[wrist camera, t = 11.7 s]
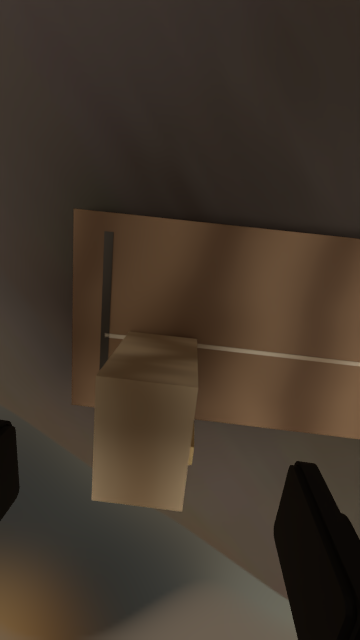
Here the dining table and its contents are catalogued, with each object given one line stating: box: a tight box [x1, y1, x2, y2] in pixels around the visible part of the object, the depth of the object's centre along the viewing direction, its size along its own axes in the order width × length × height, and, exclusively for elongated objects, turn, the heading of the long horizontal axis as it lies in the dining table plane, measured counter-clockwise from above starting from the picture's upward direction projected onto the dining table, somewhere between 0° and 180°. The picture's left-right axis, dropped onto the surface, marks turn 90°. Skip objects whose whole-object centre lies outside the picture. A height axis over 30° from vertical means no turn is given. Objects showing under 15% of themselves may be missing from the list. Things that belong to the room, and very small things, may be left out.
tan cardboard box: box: [92, 331, 198, 512], centre depth 16 cm, size 5×7×8 cm
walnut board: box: [72, 209, 360, 439], centre depth 18 cm, size 30×12×3 cm, turn 84°
